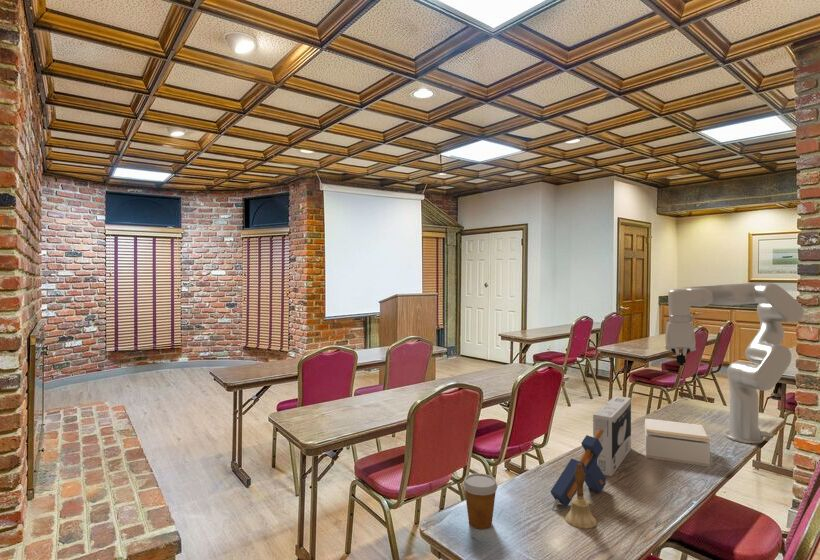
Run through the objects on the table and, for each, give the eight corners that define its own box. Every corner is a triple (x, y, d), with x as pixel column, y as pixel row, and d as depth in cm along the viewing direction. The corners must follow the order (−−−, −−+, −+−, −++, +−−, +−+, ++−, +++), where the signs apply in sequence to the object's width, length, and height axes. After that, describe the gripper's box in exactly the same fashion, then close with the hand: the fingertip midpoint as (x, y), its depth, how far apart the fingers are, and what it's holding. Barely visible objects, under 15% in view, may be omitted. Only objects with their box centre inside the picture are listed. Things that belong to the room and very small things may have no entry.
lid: (701, 427, 178) (701, 424, 178) (709, 442, 161) (709, 439, 161) (645, 420, 186) (645, 417, 186) (646, 434, 170) (646, 431, 170)
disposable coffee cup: (504, 522, 127) (504, 479, 127) (485, 537, 120) (485, 491, 120) (475, 510, 133) (475, 469, 133) (456, 524, 126) (455, 480, 126)
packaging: (611, 476, 155) (611, 417, 154) (592, 471, 158) (592, 414, 158) (631, 448, 179) (631, 397, 179) (614, 445, 183) (614, 395, 182)
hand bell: (576, 530, 122) (576, 471, 122) (559, 514, 131) (559, 459, 130) (603, 526, 124) (603, 468, 124) (584, 511, 132) (584, 456, 132)
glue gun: (562, 533, 139) (543, 502, 134) (601, 453, 155) (586, 422, 150) (581, 541, 134) (562, 510, 129) (619, 457, 150) (603, 426, 145)
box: (702, 449, 178) (702, 428, 178) (709, 466, 162) (709, 444, 161) (644, 441, 186) (644, 421, 186) (646, 457, 170) (646, 436, 170)
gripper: (699, 318, 185) (701, 363, 185) (657, 318, 191) (659, 362, 191) (703, 320, 178) (704, 367, 179) (659, 320, 184) (660, 365, 185)
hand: (681, 364), depth 185 cm, fingers closed
